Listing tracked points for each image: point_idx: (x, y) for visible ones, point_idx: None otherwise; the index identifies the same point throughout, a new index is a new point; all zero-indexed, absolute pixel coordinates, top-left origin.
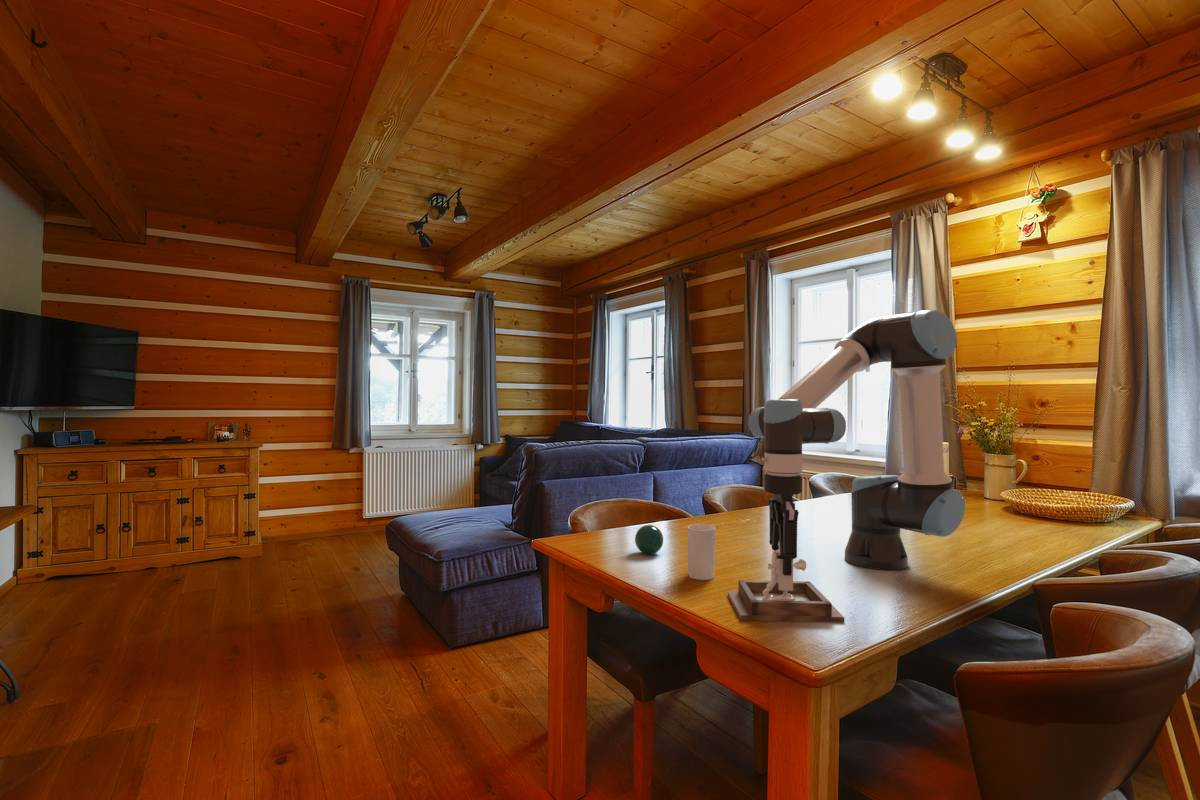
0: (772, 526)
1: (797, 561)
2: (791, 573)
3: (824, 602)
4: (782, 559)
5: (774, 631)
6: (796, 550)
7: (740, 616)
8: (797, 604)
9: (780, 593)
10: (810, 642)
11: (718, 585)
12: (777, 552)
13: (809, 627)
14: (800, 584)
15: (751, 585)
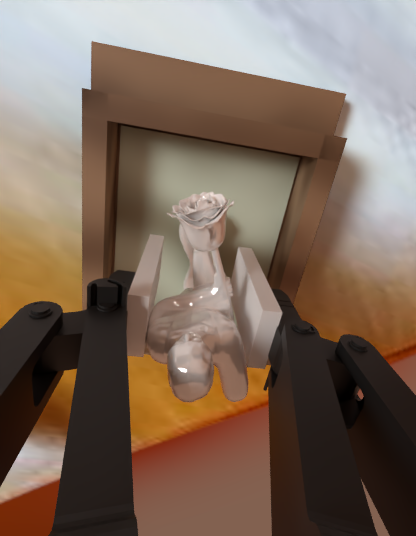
0: (2, 473)
1: (203, 240)
2: (286, 294)
3: (328, 160)
4: (266, 353)
5: (333, 311)
6: (393, 372)
7: None
8: (308, 252)
9: (113, 214)
10: (412, 260)
11: None
12: (240, 385)
13: (337, 223)
14: (108, 144)
15: None
